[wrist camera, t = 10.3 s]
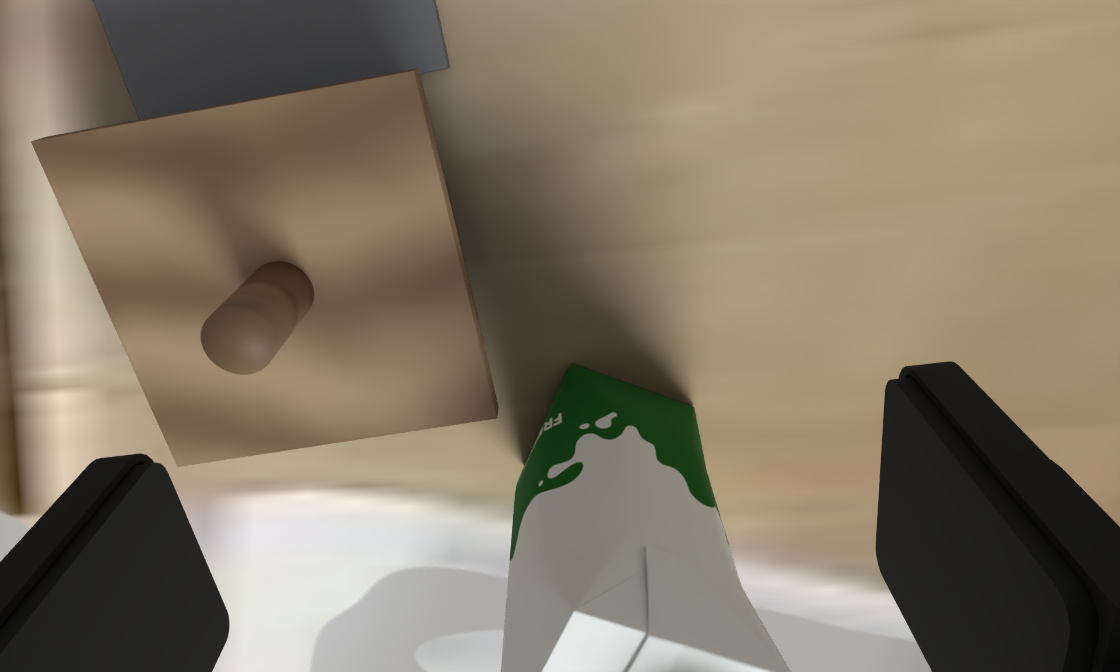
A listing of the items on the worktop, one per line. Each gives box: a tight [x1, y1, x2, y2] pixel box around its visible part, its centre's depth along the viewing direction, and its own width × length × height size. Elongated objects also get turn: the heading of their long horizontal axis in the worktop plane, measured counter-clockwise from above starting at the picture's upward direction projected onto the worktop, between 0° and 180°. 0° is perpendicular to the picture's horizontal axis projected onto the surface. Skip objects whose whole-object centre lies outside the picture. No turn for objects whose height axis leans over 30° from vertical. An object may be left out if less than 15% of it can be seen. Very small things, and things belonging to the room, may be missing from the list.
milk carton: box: [501, 363, 791, 672], centre depth 33 cm, size 9×9×20 cm
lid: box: [31, 68, 499, 467], centre depth 31 cm, size 15×15×6 cm
